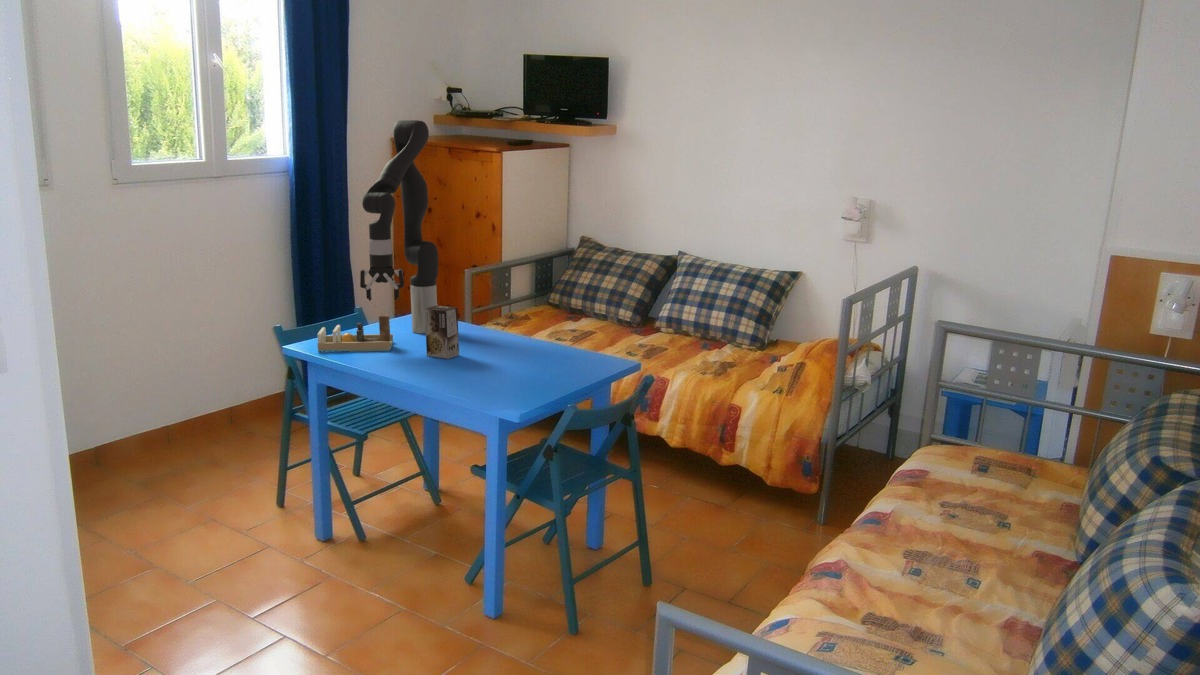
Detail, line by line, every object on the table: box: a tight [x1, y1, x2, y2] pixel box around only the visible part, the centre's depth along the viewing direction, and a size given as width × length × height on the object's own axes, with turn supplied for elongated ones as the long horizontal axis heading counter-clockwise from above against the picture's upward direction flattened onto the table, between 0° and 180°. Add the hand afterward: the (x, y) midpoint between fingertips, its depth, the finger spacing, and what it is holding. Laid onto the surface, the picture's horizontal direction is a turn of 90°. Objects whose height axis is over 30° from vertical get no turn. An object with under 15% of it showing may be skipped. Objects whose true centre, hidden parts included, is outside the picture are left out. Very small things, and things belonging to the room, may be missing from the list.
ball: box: [342, 332, 354, 342], centre depth 318 cm, size 4×4×4 cm
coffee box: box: [425, 304, 460, 360], centre depth 307 cm, size 9×6×16 cm
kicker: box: [355, 313, 391, 342], centre depth 318 cm, size 11×6×10 cm, turn 97°
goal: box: [316, 324, 342, 344], centre depth 317 cm, size 6×10×6 cm, turn 7°
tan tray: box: [317, 333, 394, 352], centre depth 319 cm, size 24×12×3 cm, turn 97°
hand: (382, 300), depth 317 cm, fingers open, 8 cm apart
